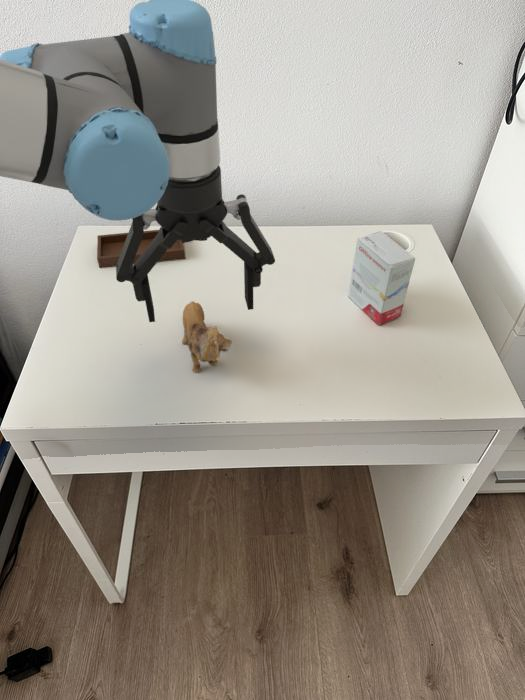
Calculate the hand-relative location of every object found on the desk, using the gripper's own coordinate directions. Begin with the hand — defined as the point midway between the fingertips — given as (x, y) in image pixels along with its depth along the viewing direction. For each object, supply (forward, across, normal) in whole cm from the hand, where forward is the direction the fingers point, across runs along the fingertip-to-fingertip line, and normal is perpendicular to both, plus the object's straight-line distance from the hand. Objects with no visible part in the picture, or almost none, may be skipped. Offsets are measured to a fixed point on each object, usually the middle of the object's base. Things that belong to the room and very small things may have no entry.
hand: (201, 309), depth 75 cm
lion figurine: (+9, 0, 0) cm, 9 cm away
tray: (+9, +8, -27) cm, 30 cm away
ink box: (+9, -29, -5) cm, 31 cm away
